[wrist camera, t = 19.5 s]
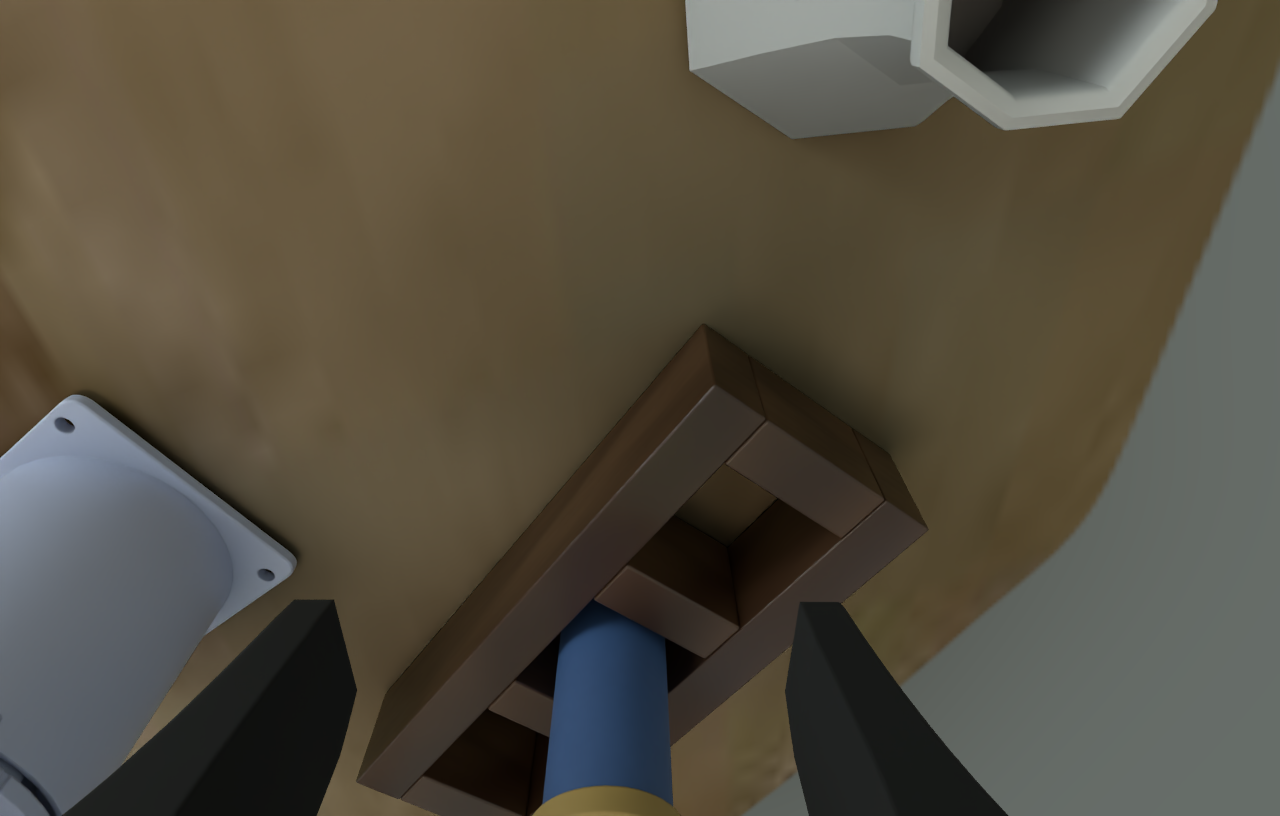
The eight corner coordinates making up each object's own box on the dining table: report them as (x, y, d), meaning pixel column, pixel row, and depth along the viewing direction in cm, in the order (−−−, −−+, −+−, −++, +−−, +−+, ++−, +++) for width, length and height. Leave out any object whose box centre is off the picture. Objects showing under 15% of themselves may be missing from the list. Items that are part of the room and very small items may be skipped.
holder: (384, 694, 28) (354, 783, 25) (702, 322, 21) (714, 384, 18) (549, 766, 30) (540, 856, 27) (890, 454, 23) (929, 529, 20)
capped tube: (605, 643, 27) (593, 923, 19) (533, 578, 25) (488, 854, 17) (694, 593, 26) (721, 870, 18) (624, 522, 24) (620, 792, 16)
